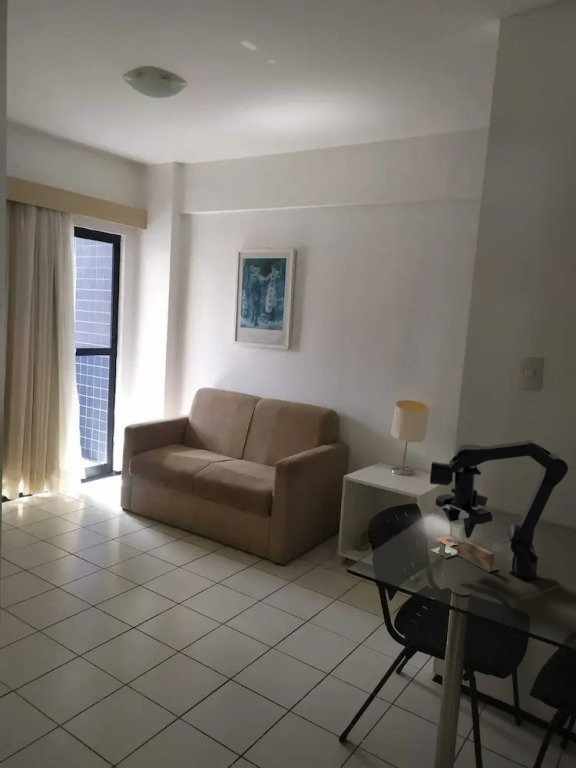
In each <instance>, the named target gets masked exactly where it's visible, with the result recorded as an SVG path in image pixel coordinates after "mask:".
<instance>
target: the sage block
mask: <svg viewBox="0 0 576 768" xmlns="http://www.w3.org/2000/svg"><path fill="white" fill-rule="evenodd" d="M463 519H464V518H459V519H458V520H454V521H449V524H450V525H449V526H450V527H449V535H450V537H452V538H454V539H456V540H458V541H459V542H461V543H462V542H465V541H472V540H474V538H475V537H474V536H475V529H474V530H473V532H472V534H471V536H470V538H466V534H465V527H464V520H463Z"/></svg>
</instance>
